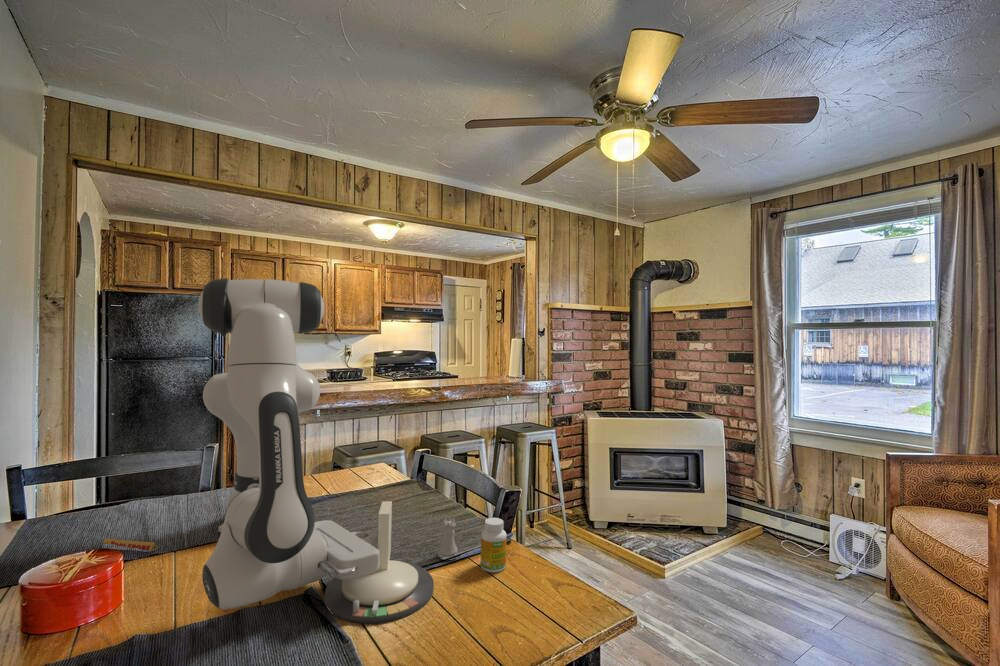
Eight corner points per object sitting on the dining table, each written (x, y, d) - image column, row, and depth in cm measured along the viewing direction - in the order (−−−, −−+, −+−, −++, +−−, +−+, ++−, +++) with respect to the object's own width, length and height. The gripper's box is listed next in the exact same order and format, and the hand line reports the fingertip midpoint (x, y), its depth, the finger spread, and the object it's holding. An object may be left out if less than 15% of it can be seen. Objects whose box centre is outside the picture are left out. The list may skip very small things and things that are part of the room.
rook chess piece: (454, 562, 101) (455, 525, 101) (434, 560, 102) (435, 523, 102) (460, 553, 106) (461, 517, 106) (441, 551, 107) (442, 515, 107)
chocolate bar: (110, 546, 106) (110, 536, 106) (159, 550, 105) (159, 539, 105) (99, 551, 104) (99, 541, 104) (149, 555, 102) (149, 545, 102)
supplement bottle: (491, 576, 96) (492, 528, 96) (475, 565, 100) (476, 520, 100) (511, 567, 100) (512, 521, 100) (494, 558, 104) (495, 514, 104)
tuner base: (304, 591, 89) (305, 575, 89) (394, 556, 104) (394, 542, 104) (361, 639, 75) (361, 620, 75) (455, 592, 90) (455, 576, 90)
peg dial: (351, 560, 98) (352, 502, 98) (419, 557, 100) (420, 500, 100) (331, 617, 79) (333, 544, 79) (416, 612, 81) (418, 541, 81)
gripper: (335, 559, 78) (405, 536, 88) (286, 523, 93) (351, 507, 102) (333, 597, 78) (404, 570, 88) (285, 555, 92) (350, 536, 102)
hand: (375, 536), depth 95 cm, fingers closed
